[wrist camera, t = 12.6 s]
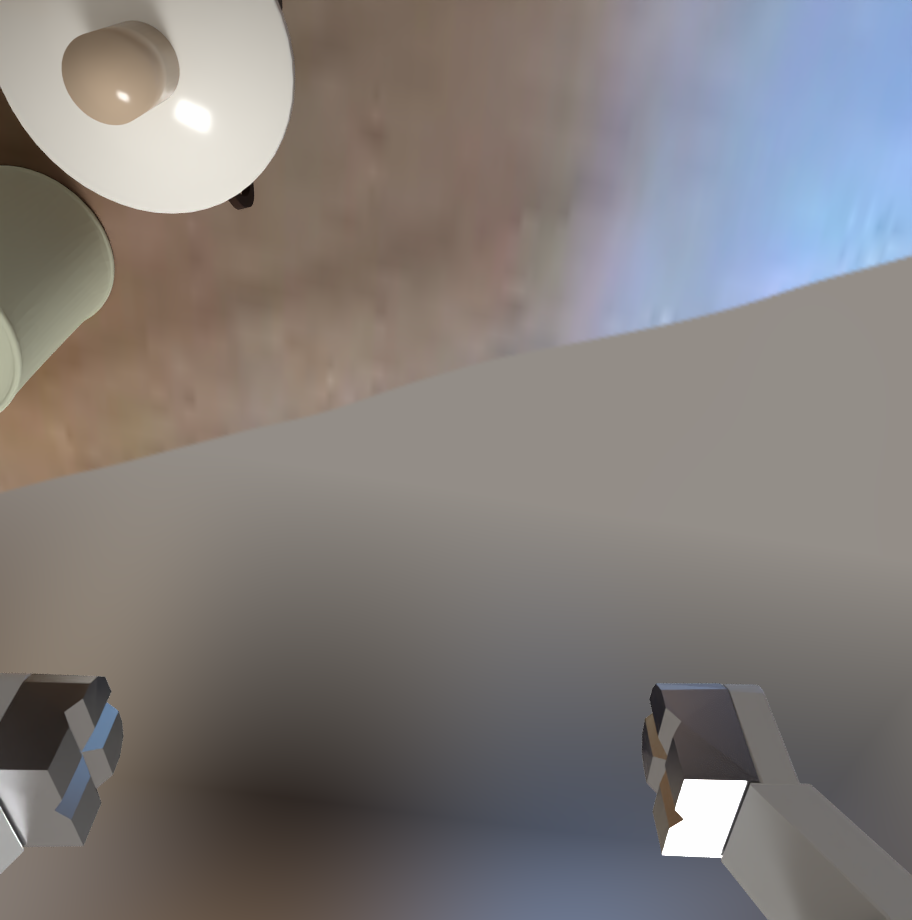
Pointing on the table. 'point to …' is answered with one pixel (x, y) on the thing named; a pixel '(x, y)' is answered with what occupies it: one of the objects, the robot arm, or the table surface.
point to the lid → (151, 93)
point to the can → (45, 271)
